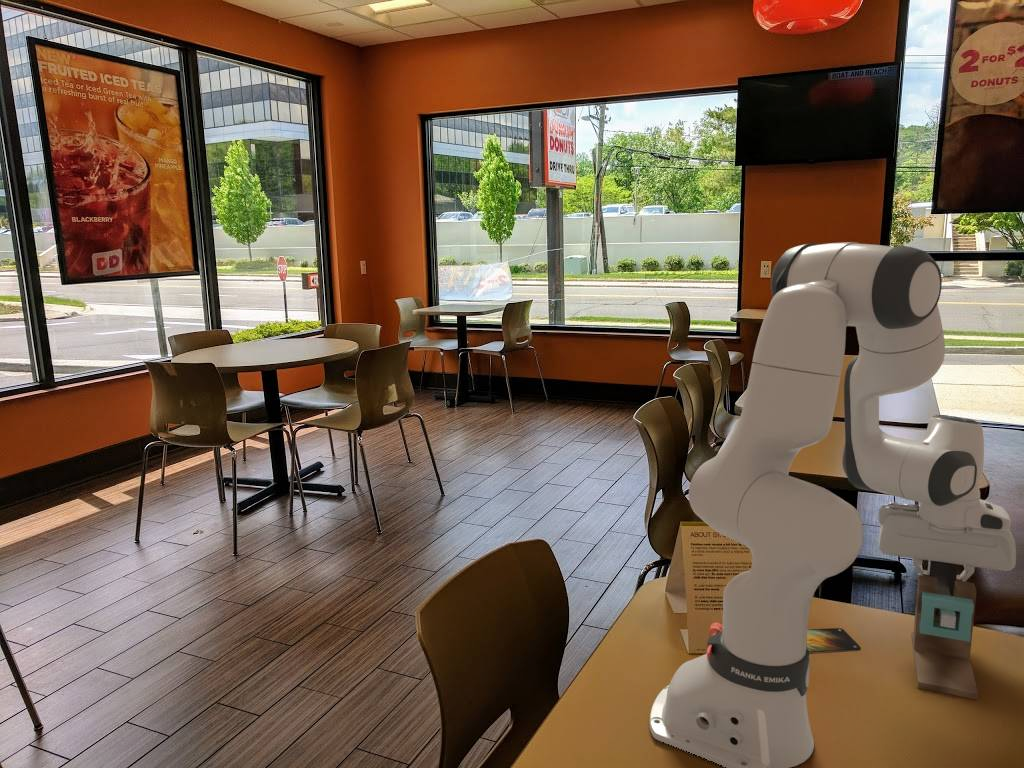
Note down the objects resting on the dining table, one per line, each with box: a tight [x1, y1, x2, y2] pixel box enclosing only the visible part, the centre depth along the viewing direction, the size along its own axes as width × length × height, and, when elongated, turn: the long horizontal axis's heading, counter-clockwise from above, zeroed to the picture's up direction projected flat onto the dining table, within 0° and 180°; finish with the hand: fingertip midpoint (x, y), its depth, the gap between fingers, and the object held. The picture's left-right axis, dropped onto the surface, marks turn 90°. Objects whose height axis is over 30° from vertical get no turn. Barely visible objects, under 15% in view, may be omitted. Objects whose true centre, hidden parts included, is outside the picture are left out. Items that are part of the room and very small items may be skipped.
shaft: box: [927, 560, 958, 629], centre depth 122 cm, size 4×14×7 cm, turn 155°
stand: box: [910, 575, 979, 701], centre depth 118 cm, size 8×16×13 cm, turn 155°
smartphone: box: [806, 627, 862, 654], centre depth 128 cm, size 7×1×15 cm
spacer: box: [919, 592, 974, 642], centre depth 119 cm, size 7×2×6 cm, turn 65°
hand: (941, 584), depth 127 cm, fingers closed on shaft, 4 cm apart
